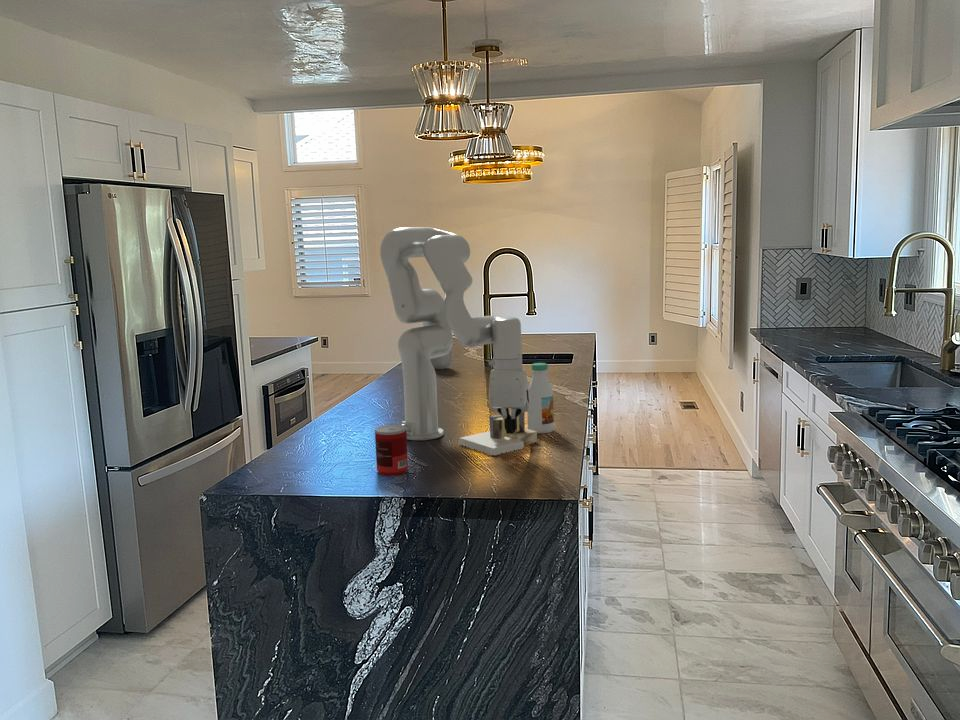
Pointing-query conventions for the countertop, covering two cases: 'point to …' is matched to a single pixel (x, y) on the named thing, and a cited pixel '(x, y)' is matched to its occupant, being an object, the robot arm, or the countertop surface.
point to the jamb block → (525, 436)
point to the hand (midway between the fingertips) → (511, 432)
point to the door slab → (491, 441)
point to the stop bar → (500, 427)
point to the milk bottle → (540, 401)
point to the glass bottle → (441, 361)
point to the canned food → (391, 450)
